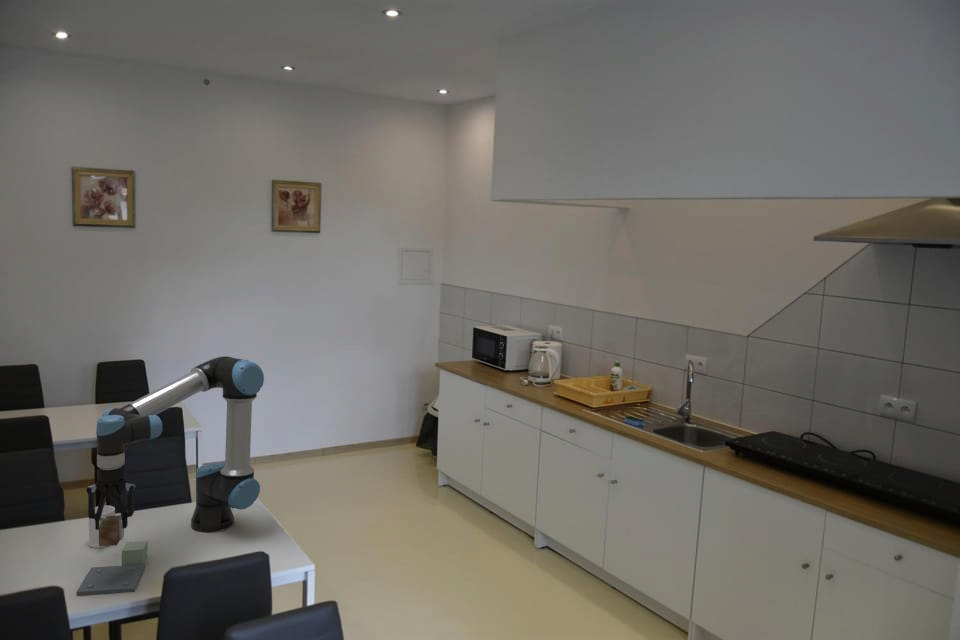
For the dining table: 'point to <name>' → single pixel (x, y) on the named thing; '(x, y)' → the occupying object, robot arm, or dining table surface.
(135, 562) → the sage brick
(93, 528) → the mug
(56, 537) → the dining table surface
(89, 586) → the plate
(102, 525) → the walnut brick
